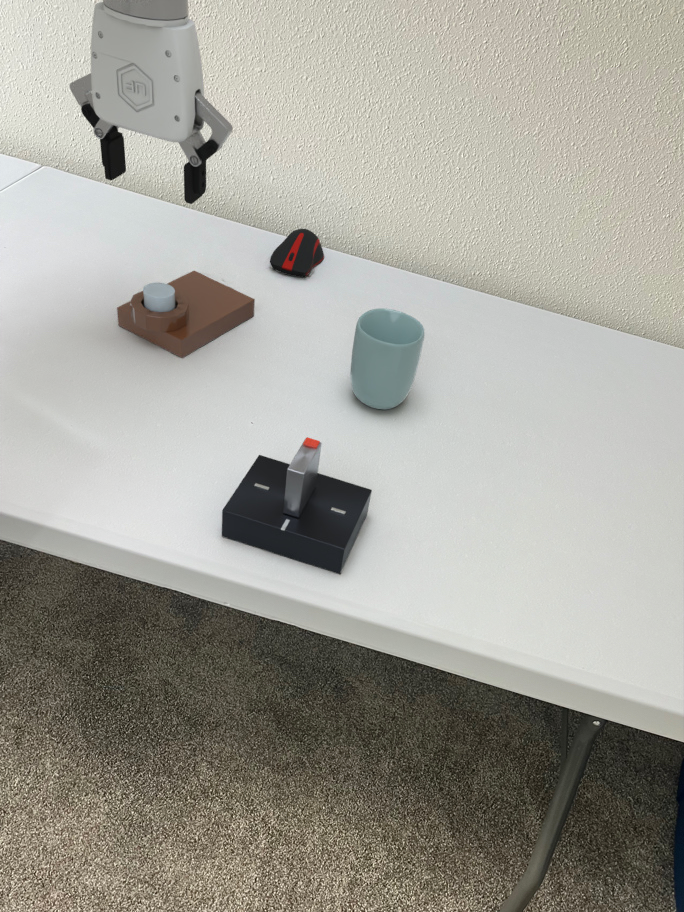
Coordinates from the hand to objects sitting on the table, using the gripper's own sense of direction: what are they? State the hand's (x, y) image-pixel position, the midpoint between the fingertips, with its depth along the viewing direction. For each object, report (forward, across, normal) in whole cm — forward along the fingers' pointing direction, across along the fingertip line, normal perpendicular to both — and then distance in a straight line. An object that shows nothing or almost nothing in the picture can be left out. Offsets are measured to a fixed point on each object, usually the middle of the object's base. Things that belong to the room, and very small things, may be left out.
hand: (154, 187), depth 84 cm
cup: (+18, +28, +1) cm, 33 cm away
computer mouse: (+18, +7, +28) cm, 34 cm away
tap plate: (+18, +27, -24) cm, 40 cm away
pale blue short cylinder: (+14, 0, 0) cm, 14 cm away
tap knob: (+15, +27, -24) cm, 39 cm away
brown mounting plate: (+18, +1, +5) cm, 19 cm away
